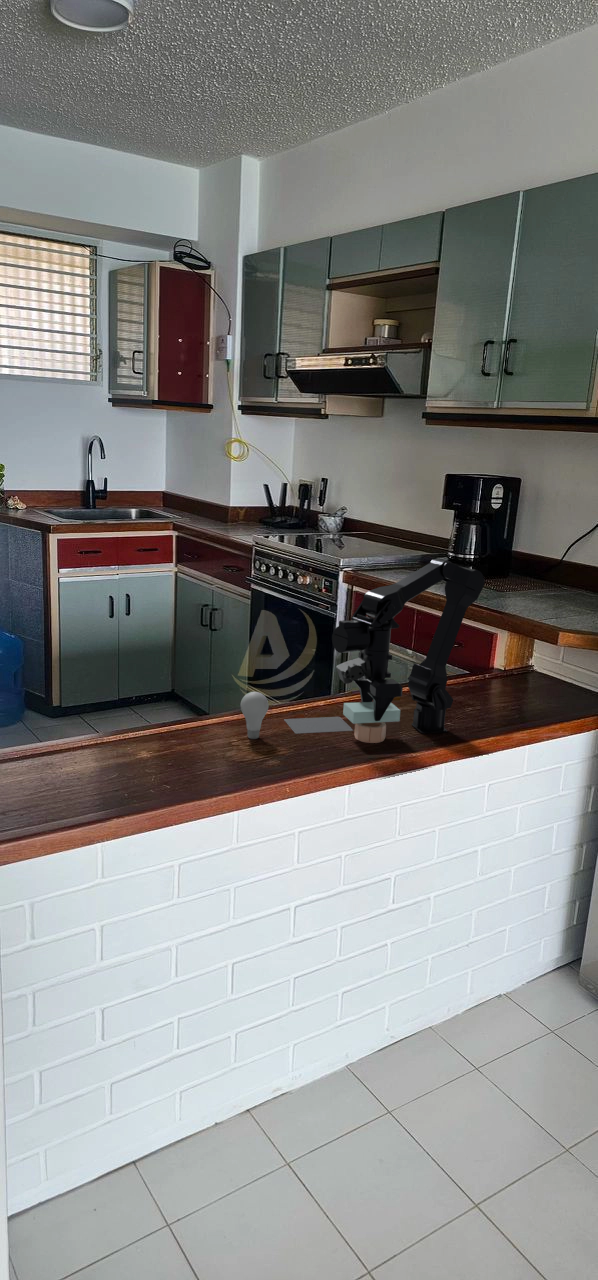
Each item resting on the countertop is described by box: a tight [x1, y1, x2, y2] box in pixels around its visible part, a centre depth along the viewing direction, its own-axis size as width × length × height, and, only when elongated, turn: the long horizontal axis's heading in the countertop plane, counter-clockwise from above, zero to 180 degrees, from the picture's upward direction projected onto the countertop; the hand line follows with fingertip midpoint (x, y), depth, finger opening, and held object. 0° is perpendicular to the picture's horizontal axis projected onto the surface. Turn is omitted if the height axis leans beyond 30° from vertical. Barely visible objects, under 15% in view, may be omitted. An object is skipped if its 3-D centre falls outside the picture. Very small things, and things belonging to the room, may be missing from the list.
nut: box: [353, 722, 387, 744], centre depth 196 cm, size 7×7×4 cm
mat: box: [283, 716, 355, 735], centre depth 203 cm, size 14×10×1 cm
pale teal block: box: [342, 701, 401, 725], centre depth 195 cm, size 11×7×3 cm, turn 106°
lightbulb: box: [240, 691, 270, 740], centre depth 191 cm, size 6×6×11 cm
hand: (371, 715), depth 195 cm, fingers closed on pale teal block, 7 cm apart
